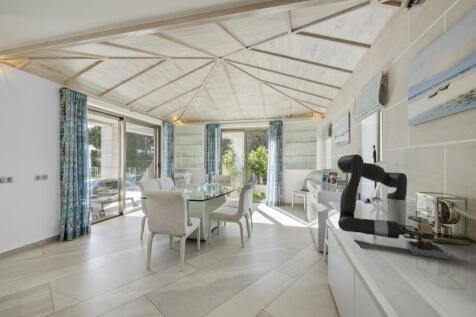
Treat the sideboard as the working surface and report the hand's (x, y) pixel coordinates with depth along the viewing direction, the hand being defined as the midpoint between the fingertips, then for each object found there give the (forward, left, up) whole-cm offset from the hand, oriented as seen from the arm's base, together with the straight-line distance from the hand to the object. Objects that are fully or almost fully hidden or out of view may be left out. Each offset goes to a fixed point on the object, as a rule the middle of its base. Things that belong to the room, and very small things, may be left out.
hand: (430, 234), depth 94 cm
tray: (0, -2, -8) cm, 8 cm away
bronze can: (0, -2, -7) cm, 8 cm away
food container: (-24, +2, -8) cm, 25 cm away
